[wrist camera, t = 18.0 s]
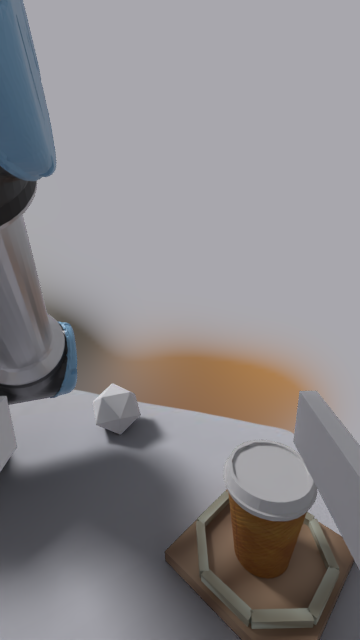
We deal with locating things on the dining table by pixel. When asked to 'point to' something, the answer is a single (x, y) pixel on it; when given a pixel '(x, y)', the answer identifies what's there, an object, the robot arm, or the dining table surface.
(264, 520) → the disposable coffee cup
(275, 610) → the cup holder board
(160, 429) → the dining table surface
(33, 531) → the dining table surface
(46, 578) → the dining table surface
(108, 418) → the die
